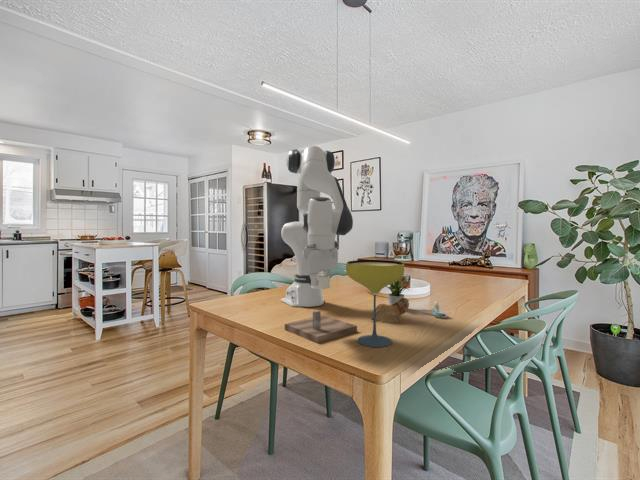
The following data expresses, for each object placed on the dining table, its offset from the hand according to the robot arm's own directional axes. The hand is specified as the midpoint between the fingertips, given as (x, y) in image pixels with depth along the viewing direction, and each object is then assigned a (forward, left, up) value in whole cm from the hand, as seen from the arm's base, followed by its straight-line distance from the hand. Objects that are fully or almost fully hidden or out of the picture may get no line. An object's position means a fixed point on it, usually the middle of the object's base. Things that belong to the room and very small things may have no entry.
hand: (320, 284), depth 113 cm
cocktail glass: (+18, +7, -17) cm, 26 cm away
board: (-1, +1, -17) cm, 17 cm away
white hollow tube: (0, 0, -1) cm, 1 cm away
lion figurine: (+7, +30, -17) cm, 35 cm away
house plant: (-2, +46, -17) cm, 49 cm away
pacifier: (+16, +50, -17) cm, 55 cm away
